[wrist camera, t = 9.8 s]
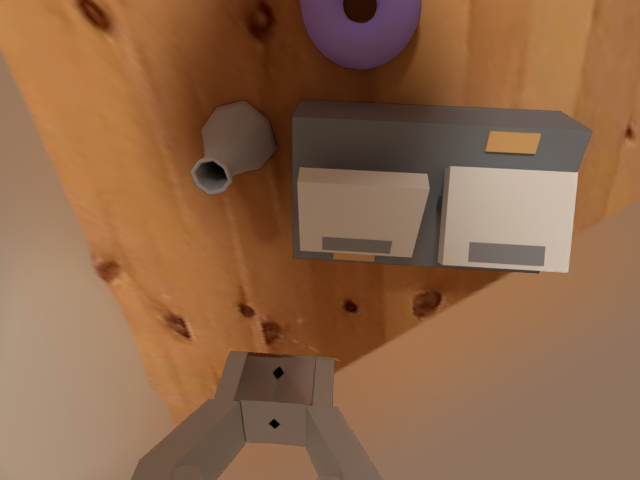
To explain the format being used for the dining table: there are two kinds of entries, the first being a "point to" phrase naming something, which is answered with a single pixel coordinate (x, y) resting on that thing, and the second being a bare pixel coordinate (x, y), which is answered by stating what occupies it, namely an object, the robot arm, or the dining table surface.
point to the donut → (360, 31)
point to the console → (427, 153)
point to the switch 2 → (507, 218)
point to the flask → (232, 146)
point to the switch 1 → (360, 211)
